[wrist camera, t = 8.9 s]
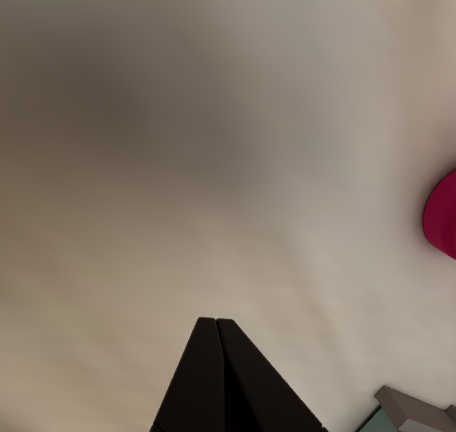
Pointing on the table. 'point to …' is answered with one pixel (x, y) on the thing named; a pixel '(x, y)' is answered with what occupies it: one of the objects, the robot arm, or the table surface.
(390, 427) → the teal tall block
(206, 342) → the robot arm
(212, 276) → the table surface
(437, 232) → the pepper mill
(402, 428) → the gray support stand
